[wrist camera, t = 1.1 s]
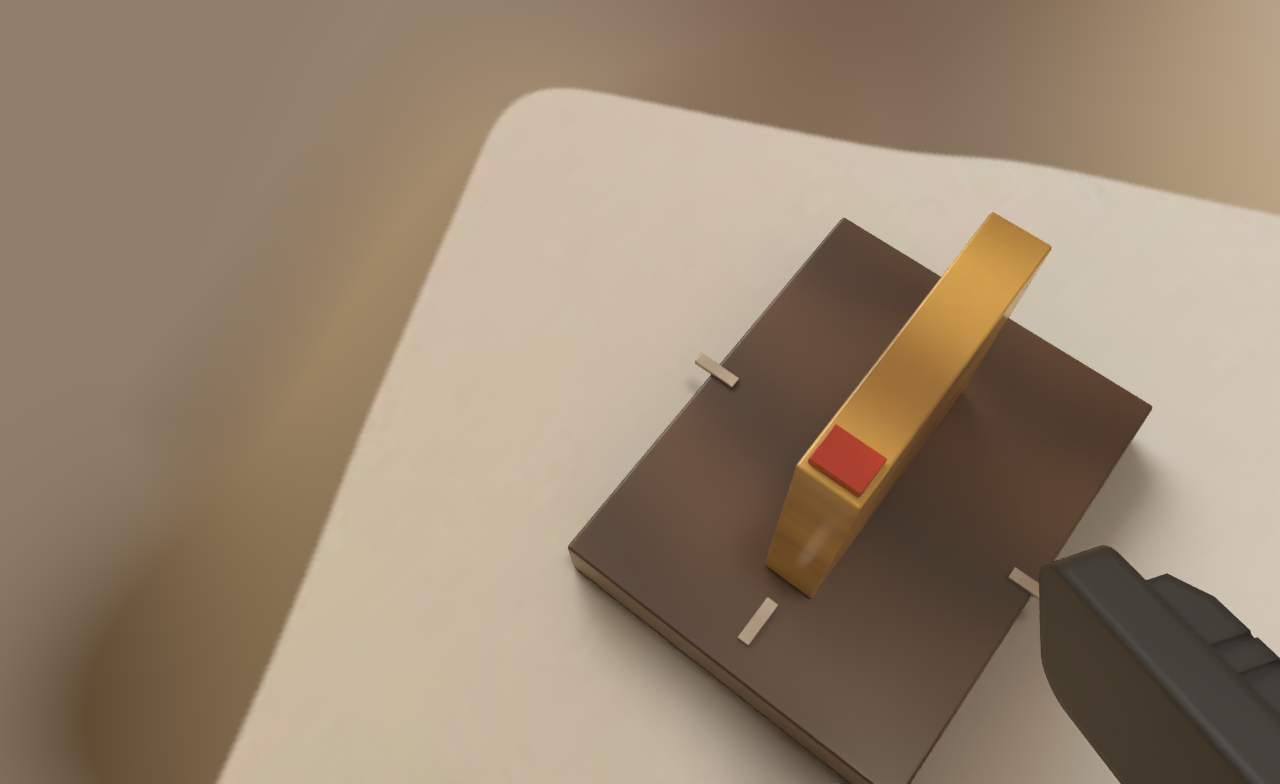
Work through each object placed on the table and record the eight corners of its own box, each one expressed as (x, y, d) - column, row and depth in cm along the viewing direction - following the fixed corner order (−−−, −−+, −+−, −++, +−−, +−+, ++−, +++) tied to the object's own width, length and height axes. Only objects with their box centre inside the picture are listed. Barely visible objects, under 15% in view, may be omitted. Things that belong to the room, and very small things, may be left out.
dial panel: (819, 239, 36) (828, 203, 34) (1145, 442, 33) (1176, 415, 31) (556, 553, 32) (549, 532, 30) (901, 823, 28) (918, 821, 26)
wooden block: (917, 360, 32) (995, 204, 24) (963, 389, 31) (1057, 240, 24) (763, 564, 29) (797, 460, 22) (811, 599, 29) (862, 506, 21)
